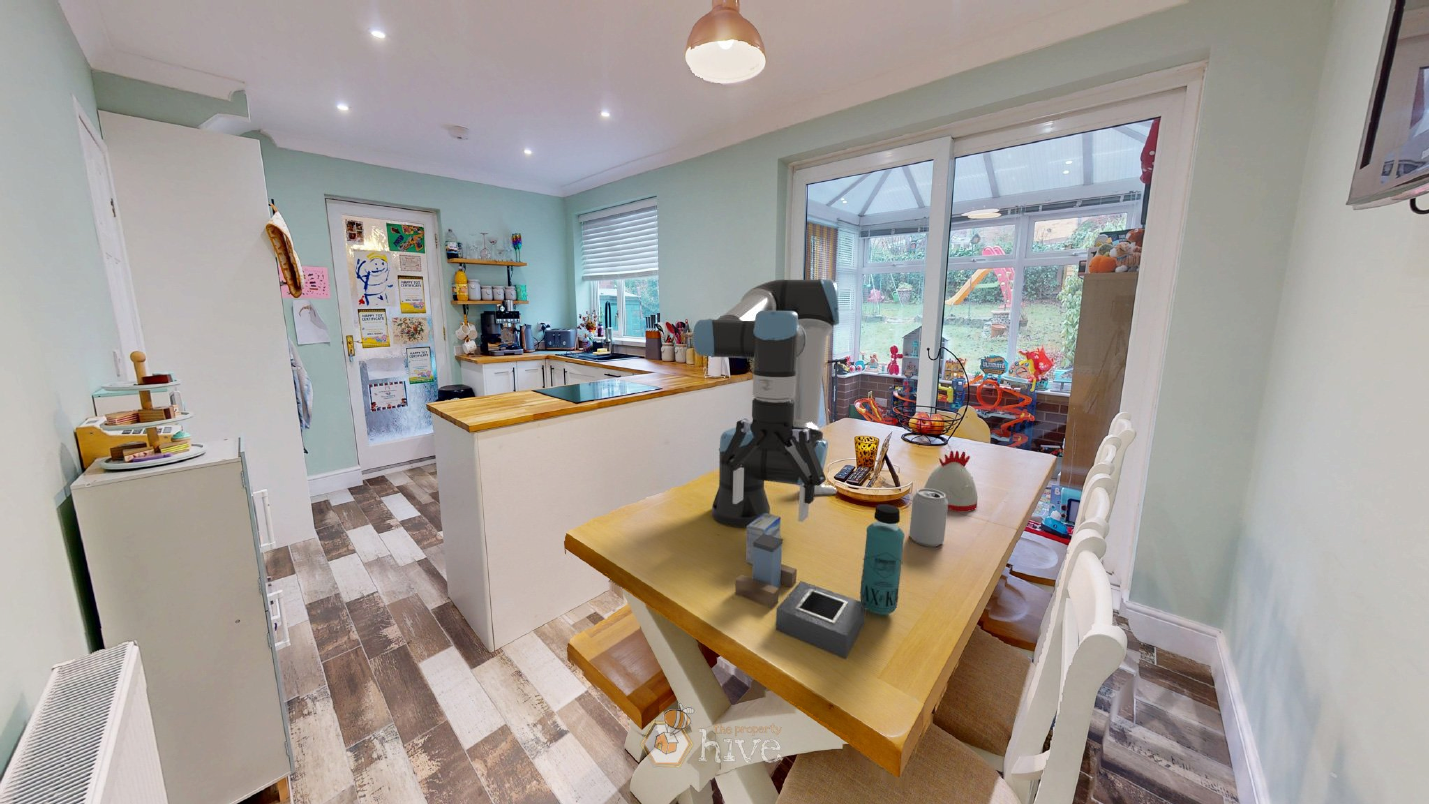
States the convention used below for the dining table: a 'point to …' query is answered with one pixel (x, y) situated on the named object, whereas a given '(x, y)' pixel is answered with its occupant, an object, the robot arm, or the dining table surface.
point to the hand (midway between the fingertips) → (769, 510)
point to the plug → (767, 560)
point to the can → (928, 517)
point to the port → (821, 618)
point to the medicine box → (761, 531)
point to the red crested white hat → (954, 482)
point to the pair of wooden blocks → (764, 587)
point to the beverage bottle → (882, 561)
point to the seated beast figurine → (824, 489)
